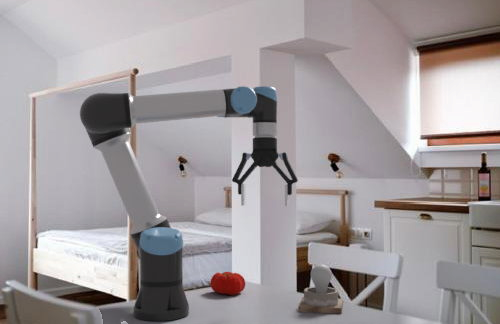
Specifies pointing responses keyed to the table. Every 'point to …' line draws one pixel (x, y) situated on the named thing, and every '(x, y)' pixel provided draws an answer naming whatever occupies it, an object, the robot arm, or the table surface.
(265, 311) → the table surface
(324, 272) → the lightbulb
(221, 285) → the tomato
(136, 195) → the robot arm
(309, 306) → the bulb socket
